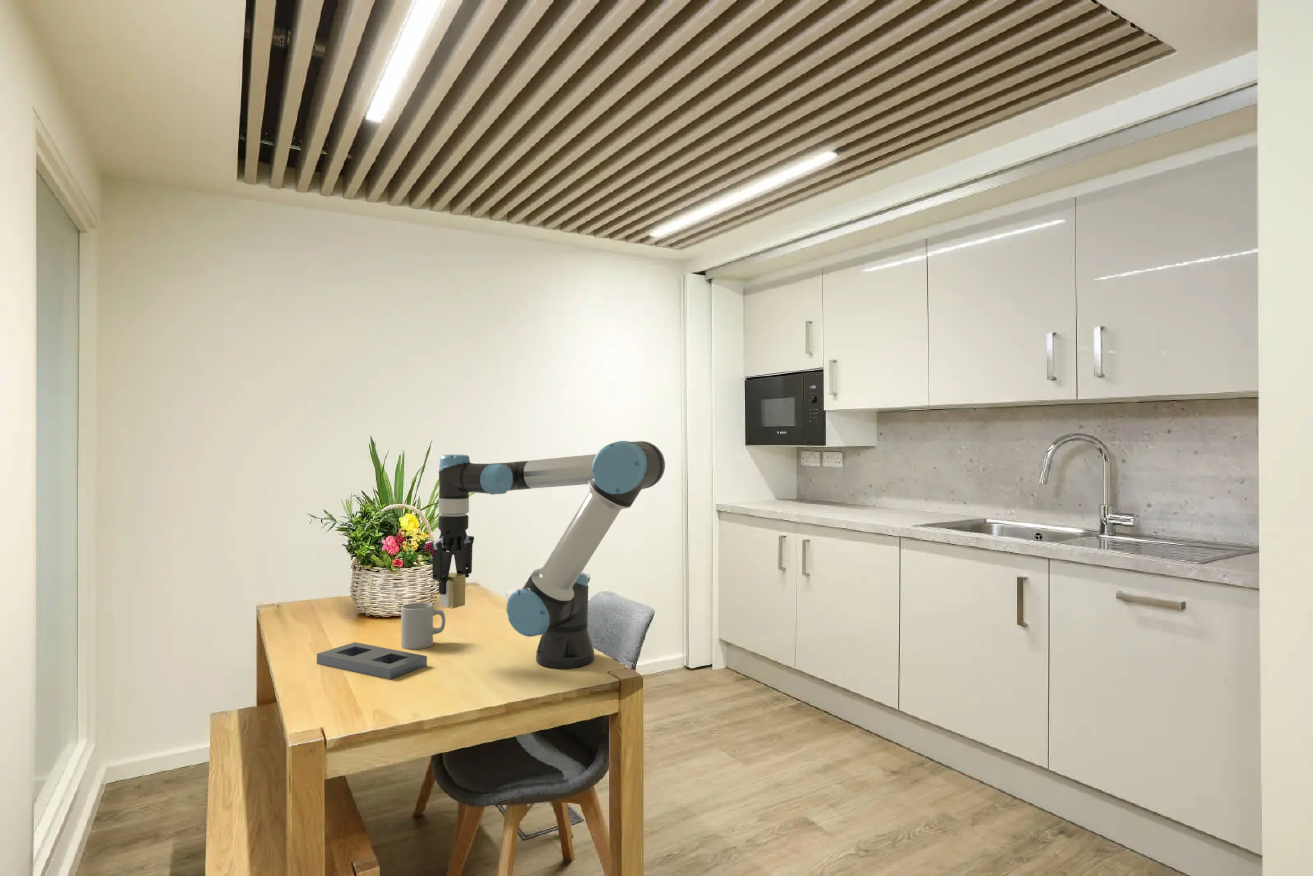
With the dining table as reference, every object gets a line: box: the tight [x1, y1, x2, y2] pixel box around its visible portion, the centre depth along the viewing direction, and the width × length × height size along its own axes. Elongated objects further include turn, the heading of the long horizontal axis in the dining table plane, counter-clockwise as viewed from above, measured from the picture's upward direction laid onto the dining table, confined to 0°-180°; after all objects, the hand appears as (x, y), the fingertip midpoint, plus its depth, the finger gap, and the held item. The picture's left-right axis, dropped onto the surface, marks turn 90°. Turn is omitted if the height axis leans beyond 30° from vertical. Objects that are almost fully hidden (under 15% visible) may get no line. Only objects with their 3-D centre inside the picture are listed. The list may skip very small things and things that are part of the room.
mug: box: [400, 602, 446, 650], centre depth 210 cm, size 12×8×11 cm
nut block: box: [439, 572, 466, 610], centre depth 194 cm, size 4×4×8 cm
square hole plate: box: [316, 642, 428, 680], centre depth 192 cm, size 26×12×2 cm, turn 63°
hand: (452, 604), depth 194 cm, fingers closed on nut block, 4 cm apart
